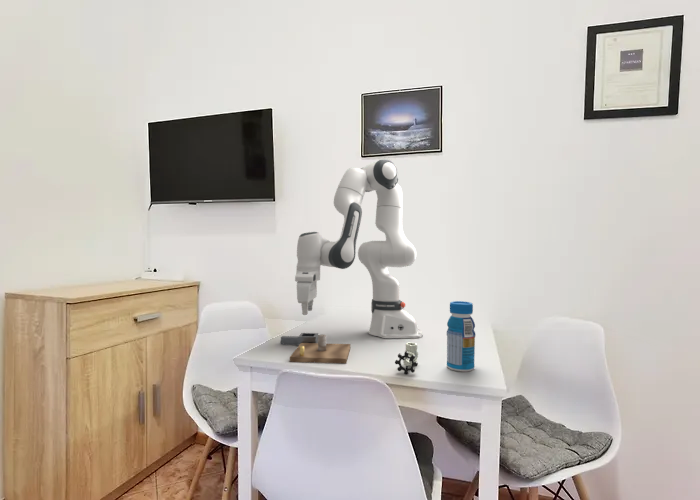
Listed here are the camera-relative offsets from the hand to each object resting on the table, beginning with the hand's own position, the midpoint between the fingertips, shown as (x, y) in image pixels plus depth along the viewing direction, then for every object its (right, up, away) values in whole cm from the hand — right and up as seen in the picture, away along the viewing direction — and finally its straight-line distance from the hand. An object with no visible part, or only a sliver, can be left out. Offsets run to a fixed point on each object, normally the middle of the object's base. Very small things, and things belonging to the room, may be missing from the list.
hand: (307, 312), depth 146 cm
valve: (+34, -13, -27) cm, 45 cm away
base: (+6, -12, -13) cm, 19 cm away
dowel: (0, -12, -20) cm, 23 cm away
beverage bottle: (+50, -13, -26) cm, 58 cm away
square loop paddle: (-3, -12, +1) cm, 12 cm away
